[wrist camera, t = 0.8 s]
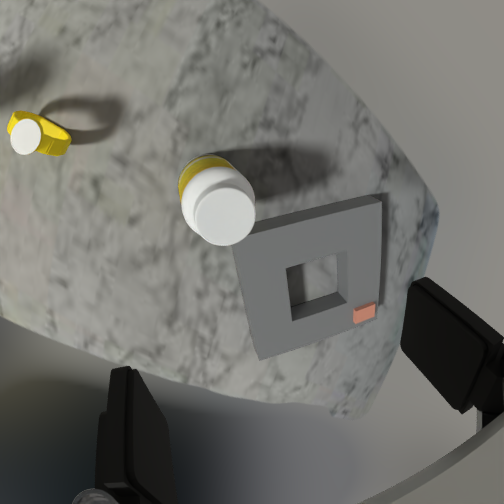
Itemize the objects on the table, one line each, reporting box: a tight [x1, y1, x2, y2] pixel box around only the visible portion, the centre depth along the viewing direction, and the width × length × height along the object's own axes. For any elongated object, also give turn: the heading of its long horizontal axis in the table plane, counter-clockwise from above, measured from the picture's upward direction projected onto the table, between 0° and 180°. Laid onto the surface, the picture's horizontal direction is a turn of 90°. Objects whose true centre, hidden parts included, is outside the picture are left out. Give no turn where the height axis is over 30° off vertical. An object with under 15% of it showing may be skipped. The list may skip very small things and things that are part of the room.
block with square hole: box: [231, 195, 382, 361], centre depth 35 cm, size 16×16×3 cm
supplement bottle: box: [178, 154, 256, 246], centre depth 25 cm, size 5×5×10 cm
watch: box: [7, 111, 71, 156], centre depth 20 cm, size 6×3×6 cm, turn 53°
